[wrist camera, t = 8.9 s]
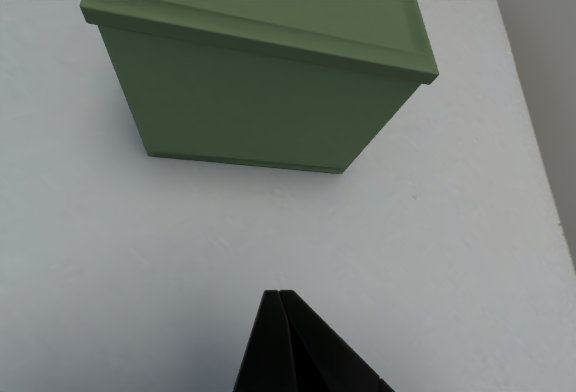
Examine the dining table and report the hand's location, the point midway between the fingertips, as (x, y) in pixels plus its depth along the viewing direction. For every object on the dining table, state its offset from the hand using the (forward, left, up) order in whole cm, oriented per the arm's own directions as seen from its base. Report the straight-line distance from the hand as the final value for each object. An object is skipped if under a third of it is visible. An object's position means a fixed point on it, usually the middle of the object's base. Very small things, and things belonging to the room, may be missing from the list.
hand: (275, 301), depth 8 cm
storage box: (+13, +10, -7) cm, 18 cm away
